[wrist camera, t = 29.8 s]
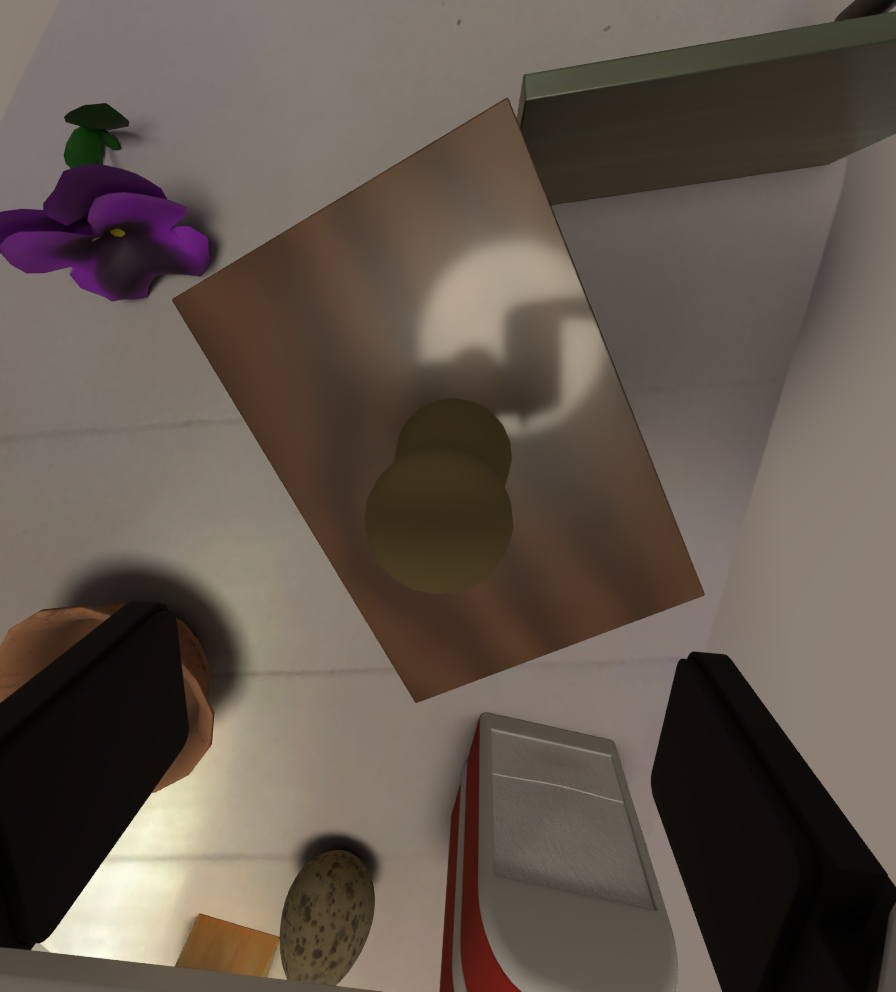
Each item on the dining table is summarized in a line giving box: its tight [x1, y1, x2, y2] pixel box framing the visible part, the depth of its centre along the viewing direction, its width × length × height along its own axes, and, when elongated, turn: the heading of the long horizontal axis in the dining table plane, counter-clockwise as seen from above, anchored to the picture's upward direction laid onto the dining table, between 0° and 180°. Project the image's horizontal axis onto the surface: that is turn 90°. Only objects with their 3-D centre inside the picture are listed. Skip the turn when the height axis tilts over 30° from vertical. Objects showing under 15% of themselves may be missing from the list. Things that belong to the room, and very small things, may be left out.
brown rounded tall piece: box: [364, 398, 514, 594], centre depth 22 cm, size 6×6×11 cm
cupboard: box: [172, 98, 705, 703], centre depth 39 cm, size 18×26×24 cm
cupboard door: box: [517, 0, 896, 205], centre depth 31 cm, size 8×26×24 cm, turn 97°
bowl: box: [0, 602, 214, 793], centre depth 56 cm, size 22×22×11 cm
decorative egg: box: [280, 850, 375, 986], centre depth 63 cm, size 11×11×15 cm
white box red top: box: [440, 713, 678, 992], centre depth 51 cm, size 16×18×27 cm
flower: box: [0, 103, 212, 301], centre depth 42 cm, size 15×15×14 cm
